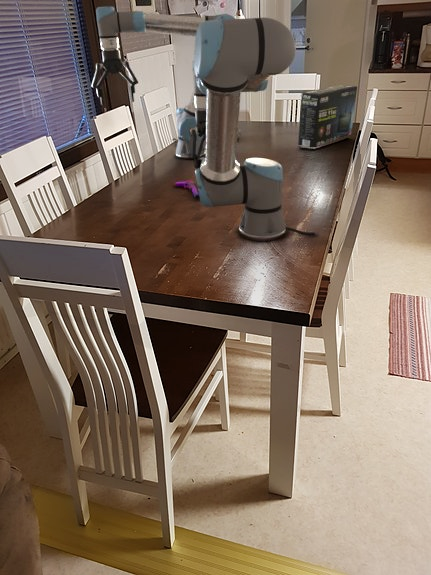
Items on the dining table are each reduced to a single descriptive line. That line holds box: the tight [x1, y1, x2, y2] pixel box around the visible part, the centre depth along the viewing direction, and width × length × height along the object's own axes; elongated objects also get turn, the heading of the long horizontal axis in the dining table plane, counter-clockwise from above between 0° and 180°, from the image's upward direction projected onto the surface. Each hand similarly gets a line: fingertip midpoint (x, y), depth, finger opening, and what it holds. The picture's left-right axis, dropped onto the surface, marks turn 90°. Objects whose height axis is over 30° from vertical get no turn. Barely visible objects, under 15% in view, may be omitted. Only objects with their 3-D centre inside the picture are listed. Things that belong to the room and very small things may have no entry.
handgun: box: [174, 179, 200, 201], centre depth 185 cm, size 21×8×2 cm, turn 11°
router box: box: [297, 84, 358, 151], centre depth 238 cm, size 36×11×27 cm, turn 134°
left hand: (117, 103), depth 204 cm, fingers open, 13 cm apart
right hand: (208, 174), depth 168 cm, fingers closed on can, 8 cm apart
